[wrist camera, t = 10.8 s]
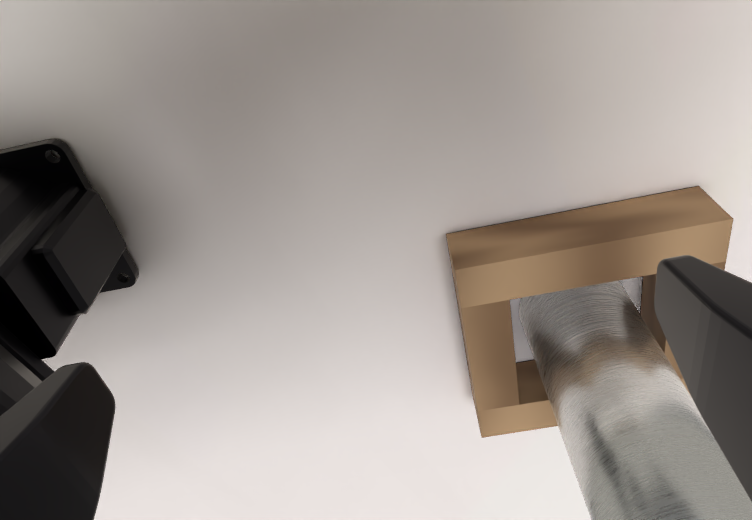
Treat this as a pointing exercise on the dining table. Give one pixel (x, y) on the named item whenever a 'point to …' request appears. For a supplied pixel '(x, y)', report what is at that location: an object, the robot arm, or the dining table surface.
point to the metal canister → (626, 412)
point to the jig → (566, 283)
